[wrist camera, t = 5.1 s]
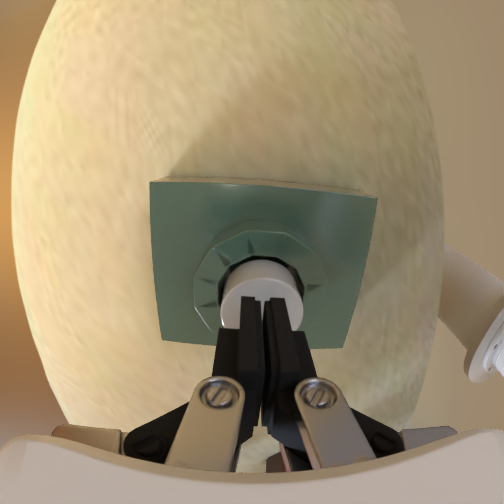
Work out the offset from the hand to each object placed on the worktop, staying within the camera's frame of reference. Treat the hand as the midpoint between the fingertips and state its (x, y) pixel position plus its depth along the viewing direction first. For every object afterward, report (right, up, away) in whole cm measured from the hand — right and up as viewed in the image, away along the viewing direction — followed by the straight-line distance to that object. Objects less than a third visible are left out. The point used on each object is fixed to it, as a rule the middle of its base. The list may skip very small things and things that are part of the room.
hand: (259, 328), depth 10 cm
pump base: (0, +3, +7) cm, 8 cm away
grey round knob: (0, +1, +3) cm, 3 cm away
